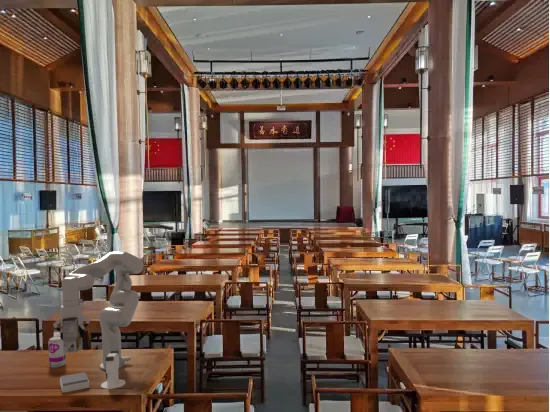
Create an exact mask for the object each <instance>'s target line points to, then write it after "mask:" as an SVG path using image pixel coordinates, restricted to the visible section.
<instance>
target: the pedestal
mask: <svg viewBox="0 0 550 412" xmlns="http://www.w3.org/2000/svg"><path fill="white" fill-rule="evenodd" d="M59 385H60V386H59V387H60V390H61V393H69V392H75V391H78V390H83V389H84V390H85V389H89V388H90V381H89V378H88V376H87V374H86V372H85V371H84V372H78V373H73V374H67V375H63V376H60V378H59Z"/></svg>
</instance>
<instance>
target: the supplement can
mask: <svg viewBox="0 0 550 412" xmlns="http://www.w3.org/2000/svg"><path fill="white" fill-rule="evenodd" d="M47 343H48V345H47V346H48V365H49V367H50V368H53V369H55V368H61V367H64V366H65V364H66V362H67V361H66V353H64V348H63V341H62V339H61V338H60V336H59V335H57V336H52V337H50V338H49V340H48V342H47Z"/></svg>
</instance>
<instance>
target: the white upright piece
mask: <svg viewBox="0 0 550 412" xmlns="http://www.w3.org/2000/svg"><path fill="white" fill-rule="evenodd" d="M118 355H119V351H111V352H110V354H108V356H107V357H106V359H105V360H106V364H105V368H106V370H105V372H106V374H105V378H106V380H105V381H103V382H102V383H101V384H100V387H101V388H102V389H105V390H115V389H117V388H121V387H123V386H125V385H126V380H124V379H121V378H120V379H119V369H120V368H119V356H118Z"/></svg>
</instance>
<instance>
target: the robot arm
mask: <svg viewBox="0 0 550 412" xmlns="http://www.w3.org/2000/svg"><path fill="white" fill-rule="evenodd" d="M143 269H144V262H143V260H142V259H141V258H139V257H138V256H135V255H134V254H131V253H129V252H127V251H110V252H108V253H106V254H105V255H104V256H102V257H100V258H99V259H98V260H96V261H94V262H92V263H89V264H86V265H84V266H83V265H82V266H81V267H80V266H79V267H77V268H76V269H74V270H73V271H71V272H70V273H69V274H67V275H66V276H65V277H64V278H62V279H61V293H62V297H61V298H62V305H61V306H60V312H59V314H60V316H59V319H58V320H56V321H55V322H54V323H53V324H52V325H53V327H54V328H55V330H57V332H59V335H60V338H61V339H62V341H63V324H62V320H63V319H68V318H78V325H80V327H81V338H82V339H83V338H84V336H85V329H86V328H87V327H88V325H89V324H90V322H91V319H90V318H89V317H86V316H84V314H83V313H84V311H83V308H82V307H83V306H82V304H81V303H83V301H84V300H83V298H80V291H86V290H90V289H91V288H92V287H94V284H95V279H97V278H102V277H104V276H106V275H107V274H108V273H110V272H112V271H113V270H114V271H115V276H116V282H115V285H114V287H113V289H112V292H111V294H110V297H109V302H108V303H109V305H111V306H112V307H105V308H103V309H101V310H100V313H99V316H98V317H99V319H98V320H99V324H100V328H101V329H100V330H101V340H102V341H101V343H102V344H101V345H102V347H101V348H102V363H101V364H100V365H99V369H101V370H104V371H106V368H105V364H106V360H105V359H106V357H107V356H108V354H110V352H111V351H119V355H118V356H119V369H122V368H123V367H124V366H125V365H126V364H125V362H129V361H131V360H132V359H131V356H123V355H122V338H121V337H122V335H121V330H120V328H121V327H123V328H124V327H128V326H129V325H130V324H131V322H132V321H133V318H134V316H135V313H136V311H137V307H138V305H139V300H140V297H139V294H138V292H137V291H135V290H132V289H131V288H132V286H133V285H132V283H133V282H132V278H131V277H130V274H131V275H132V274H133V275H134V274H135V275H136V274H140V273H141V272H142V271H143ZM84 321H86V322H85V323H84ZM59 324H60V327H59V326H58V325H59Z"/></svg>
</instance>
